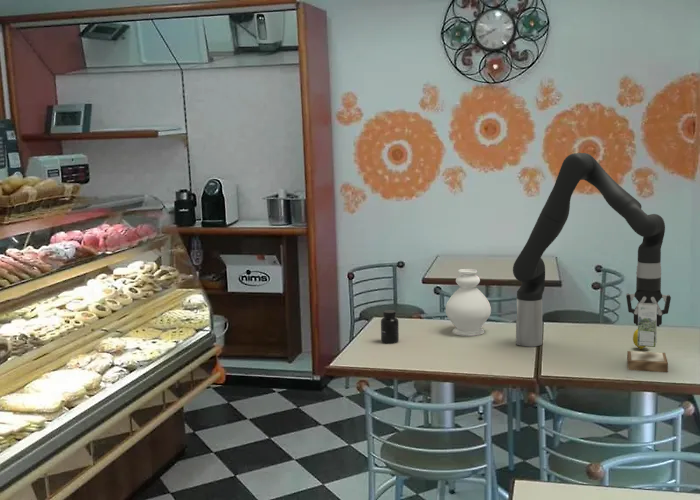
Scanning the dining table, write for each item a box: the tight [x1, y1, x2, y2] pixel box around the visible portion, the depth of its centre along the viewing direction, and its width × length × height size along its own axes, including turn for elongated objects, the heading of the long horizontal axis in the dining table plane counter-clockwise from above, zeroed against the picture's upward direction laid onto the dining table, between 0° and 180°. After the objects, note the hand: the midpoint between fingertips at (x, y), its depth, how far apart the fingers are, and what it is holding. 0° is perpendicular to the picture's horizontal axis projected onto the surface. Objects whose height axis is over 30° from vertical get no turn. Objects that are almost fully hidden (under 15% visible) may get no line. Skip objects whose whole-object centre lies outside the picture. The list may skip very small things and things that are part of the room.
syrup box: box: [637, 303, 658, 348], centre depth 255 cm, size 6×6×14 cm
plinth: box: [626, 350, 669, 373], centre depth 257 cm, size 12×12×3 cm
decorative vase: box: [445, 268, 492, 337], centre depth 306 cm, size 18×18×25 cm
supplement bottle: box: [380, 309, 400, 345], centre depth 297 cm, size 7×7×12 cm
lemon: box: [632, 328, 646, 350], centre depth 275 cm, size 6×6×8 cm
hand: (647, 325), depth 255 cm, fingers closed on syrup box, 6 cm apart
